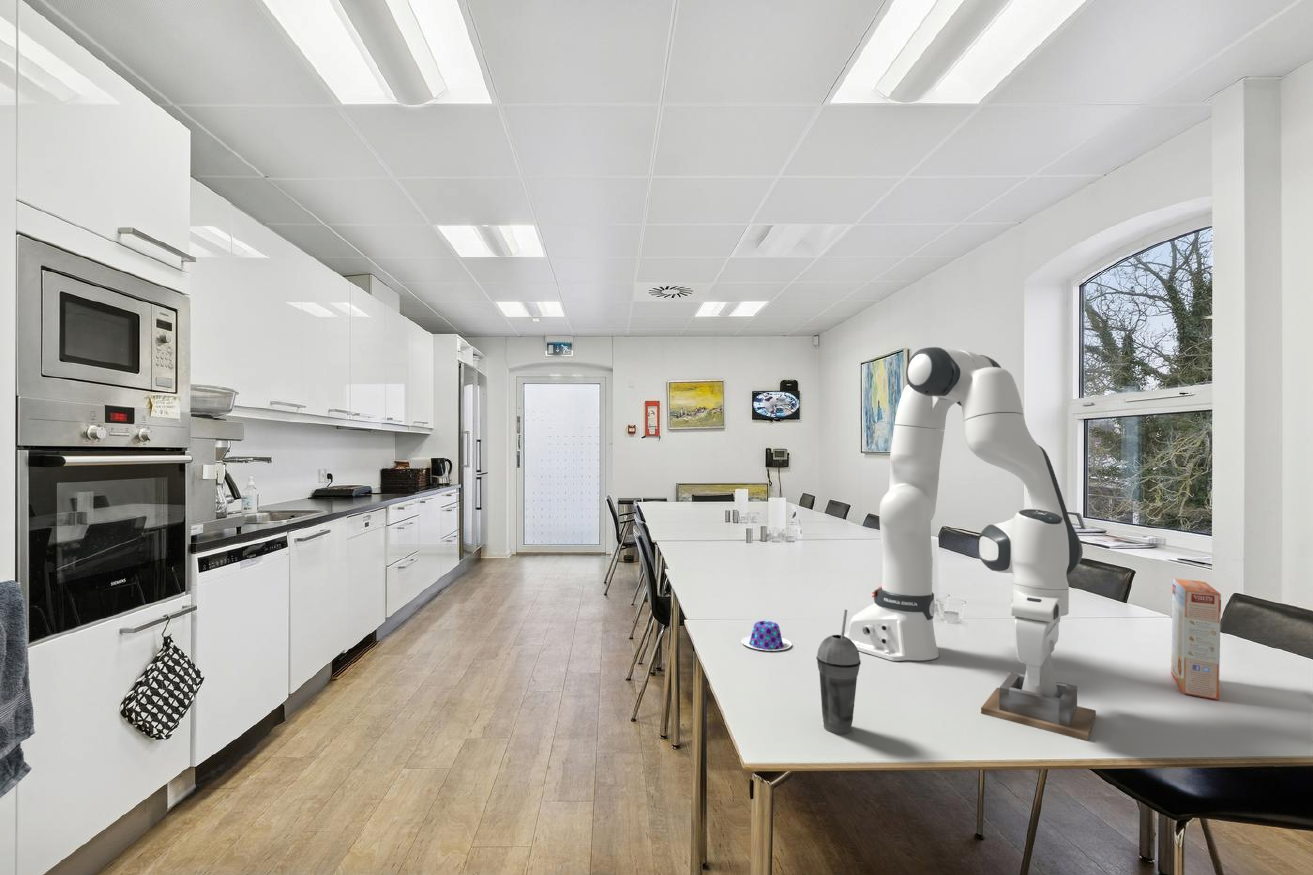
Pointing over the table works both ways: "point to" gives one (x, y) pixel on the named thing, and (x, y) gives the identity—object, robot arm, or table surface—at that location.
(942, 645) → the table surface
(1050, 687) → the salt shaker
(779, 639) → the pudding
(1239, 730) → the table surface
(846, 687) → the beverage cup
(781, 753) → the table surface
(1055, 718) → the socket block
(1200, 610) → the cracker box
